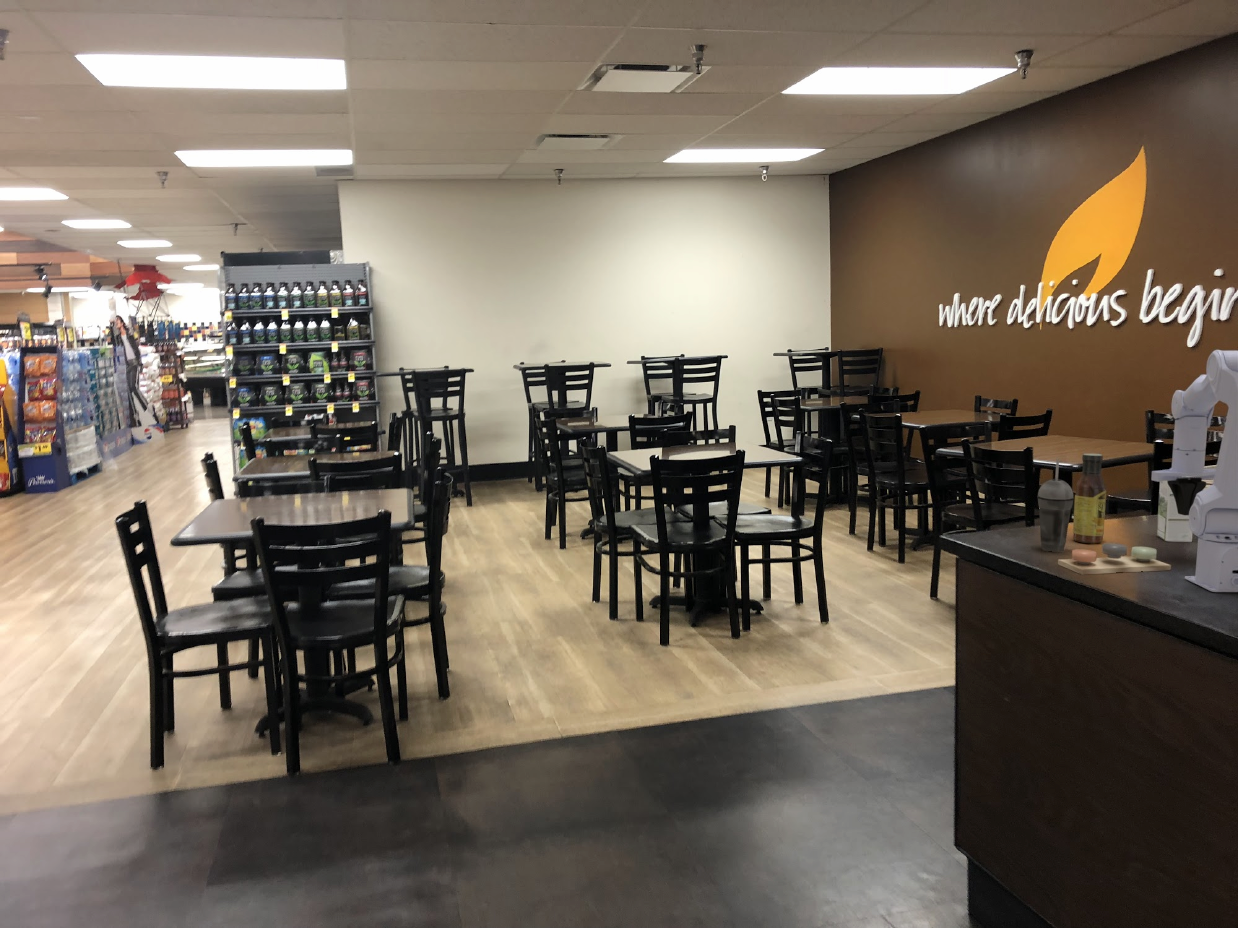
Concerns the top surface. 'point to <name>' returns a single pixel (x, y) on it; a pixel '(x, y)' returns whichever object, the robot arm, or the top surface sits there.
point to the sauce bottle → (1090, 502)
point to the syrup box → (1171, 518)
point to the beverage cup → (1054, 512)
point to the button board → (1114, 565)
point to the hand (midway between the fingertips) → (1184, 514)
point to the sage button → (1143, 553)
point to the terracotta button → (1084, 556)
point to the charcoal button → (1114, 550)
